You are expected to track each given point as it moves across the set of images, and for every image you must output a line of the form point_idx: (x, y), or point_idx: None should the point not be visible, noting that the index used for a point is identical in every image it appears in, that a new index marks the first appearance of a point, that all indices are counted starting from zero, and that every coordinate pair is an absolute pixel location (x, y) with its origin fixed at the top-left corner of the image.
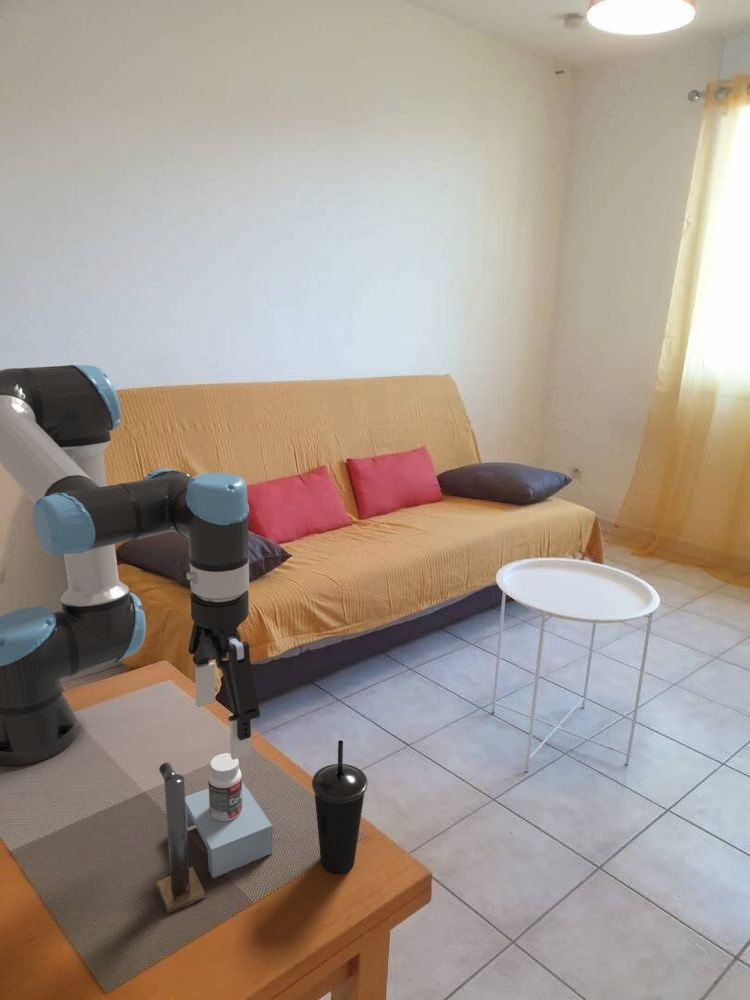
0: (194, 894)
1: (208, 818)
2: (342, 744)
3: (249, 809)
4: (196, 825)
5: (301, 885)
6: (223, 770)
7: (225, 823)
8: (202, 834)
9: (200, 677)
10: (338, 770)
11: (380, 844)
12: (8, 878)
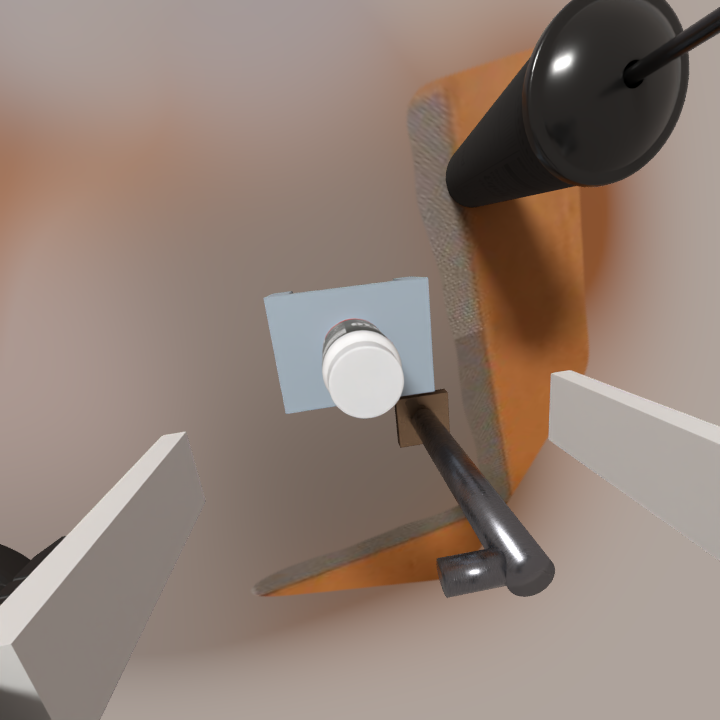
0: (445, 405)
1: None
2: None
3: (368, 306)
4: None
5: (488, 254)
6: (400, 393)
7: None
8: None
9: (123, 635)
10: (654, 71)
11: (476, 75)
12: (307, 593)
